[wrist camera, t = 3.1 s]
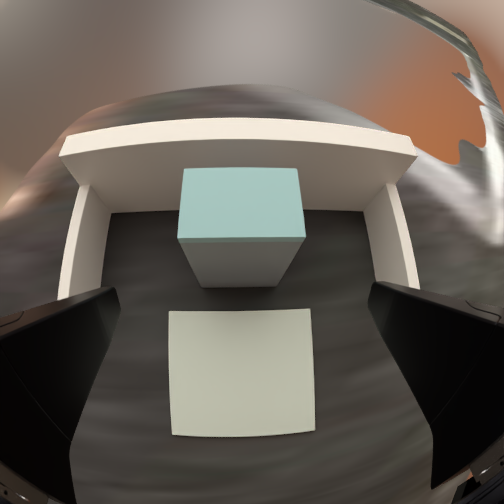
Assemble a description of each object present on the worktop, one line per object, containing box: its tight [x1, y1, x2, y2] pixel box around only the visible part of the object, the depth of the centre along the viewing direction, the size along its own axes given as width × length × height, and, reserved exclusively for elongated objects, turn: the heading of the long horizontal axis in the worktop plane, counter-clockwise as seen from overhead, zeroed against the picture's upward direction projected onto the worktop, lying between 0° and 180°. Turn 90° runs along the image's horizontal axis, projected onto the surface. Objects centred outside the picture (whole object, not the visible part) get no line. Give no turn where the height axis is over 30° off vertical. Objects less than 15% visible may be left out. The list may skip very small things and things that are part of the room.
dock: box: [58, 118, 420, 300], centre depth 19 cm, size 12×26×9 cm, turn 92°
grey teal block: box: [177, 167, 306, 288], centre depth 18 cm, size 4×6×10 cm, turn 92°
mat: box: [169, 309, 315, 437], centre depth 20 cm, size 10×11×1 cm
